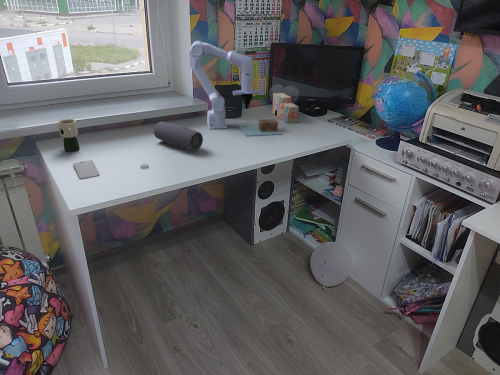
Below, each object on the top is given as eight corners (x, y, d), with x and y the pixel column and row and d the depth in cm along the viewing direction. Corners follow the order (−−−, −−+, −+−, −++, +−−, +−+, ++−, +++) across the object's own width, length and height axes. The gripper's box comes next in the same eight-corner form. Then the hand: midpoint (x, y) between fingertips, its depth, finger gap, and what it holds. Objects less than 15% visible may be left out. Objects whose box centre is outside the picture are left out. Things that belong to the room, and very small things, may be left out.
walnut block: (261, 122, 193) (278, 121, 195) (259, 119, 197) (275, 119, 199) (261, 131, 195) (277, 131, 197) (258, 128, 199) (274, 128, 202)
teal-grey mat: (245, 136, 189) (245, 135, 189) (239, 127, 201) (239, 126, 201) (283, 134, 194) (283, 133, 194) (275, 126, 206) (275, 125, 206)
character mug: (61, 147, 167) (55, 118, 161) (78, 144, 171) (73, 116, 165) (65, 155, 159) (59, 126, 153) (83, 152, 163) (78, 123, 157)
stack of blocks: (297, 122, 213) (299, 101, 208) (287, 123, 211) (289, 101, 206) (281, 112, 231) (282, 92, 225) (271, 113, 229) (273, 92, 223)
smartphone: (79, 178, 140) (72, 163, 151) (80, 181, 140) (73, 165, 151) (99, 174, 143) (91, 159, 154) (100, 177, 144) (92, 162, 155)
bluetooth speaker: (204, 149, 172) (203, 128, 167) (190, 155, 165) (189, 133, 160) (168, 138, 183) (167, 118, 178) (153, 143, 176) (152, 122, 171)
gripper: (234, 84, 186) (234, 111, 192) (262, 83, 189) (262, 109, 195) (231, 81, 192) (232, 107, 198) (259, 80, 195) (258, 106, 201)
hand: (246, 108), depth 197 cm, fingers closed
